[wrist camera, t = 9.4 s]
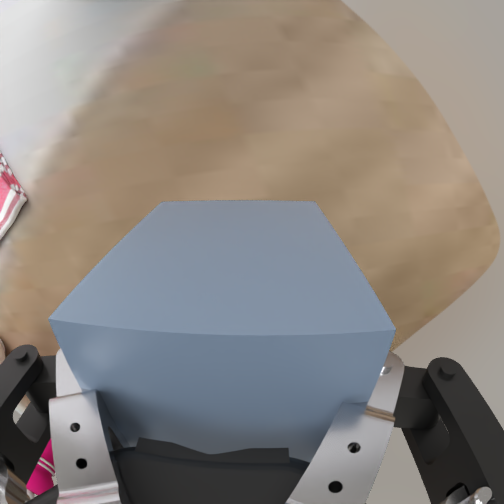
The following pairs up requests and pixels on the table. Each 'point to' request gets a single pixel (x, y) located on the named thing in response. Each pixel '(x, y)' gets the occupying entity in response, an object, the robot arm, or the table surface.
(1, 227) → the dish towel
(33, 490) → the pepper mill
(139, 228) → the blue gray block
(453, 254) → the table surface
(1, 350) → the lidded jar
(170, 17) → the table surface
